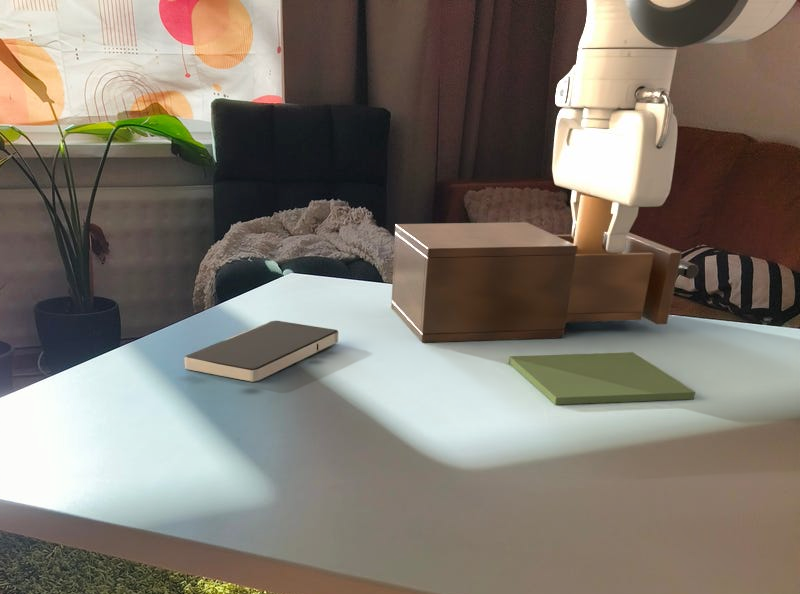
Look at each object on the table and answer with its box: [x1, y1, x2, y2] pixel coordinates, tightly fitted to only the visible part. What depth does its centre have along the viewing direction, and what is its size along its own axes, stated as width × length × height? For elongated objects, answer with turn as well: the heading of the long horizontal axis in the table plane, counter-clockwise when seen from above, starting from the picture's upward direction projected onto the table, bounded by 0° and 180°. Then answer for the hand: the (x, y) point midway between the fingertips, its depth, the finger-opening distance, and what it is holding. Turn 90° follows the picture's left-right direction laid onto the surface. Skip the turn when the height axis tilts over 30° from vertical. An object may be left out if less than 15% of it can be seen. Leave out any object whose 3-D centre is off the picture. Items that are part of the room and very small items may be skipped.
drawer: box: [554, 232, 699, 325], centre depth 94 cm, size 18×13×7 cm
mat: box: [508, 351, 696, 406], centre depth 78 cm, size 12×12×1 cm
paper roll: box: [573, 193, 613, 254], centre depth 92 cm, size 5×5×10 cm
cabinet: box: [390, 221, 577, 343], centre depth 92 cm, size 15×15×9 cm
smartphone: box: [183, 320, 339, 383], centre depth 83 cm, size 8×1×15 cm
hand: (596, 245), depth 91 cm, fingers open, 6 cm apart
